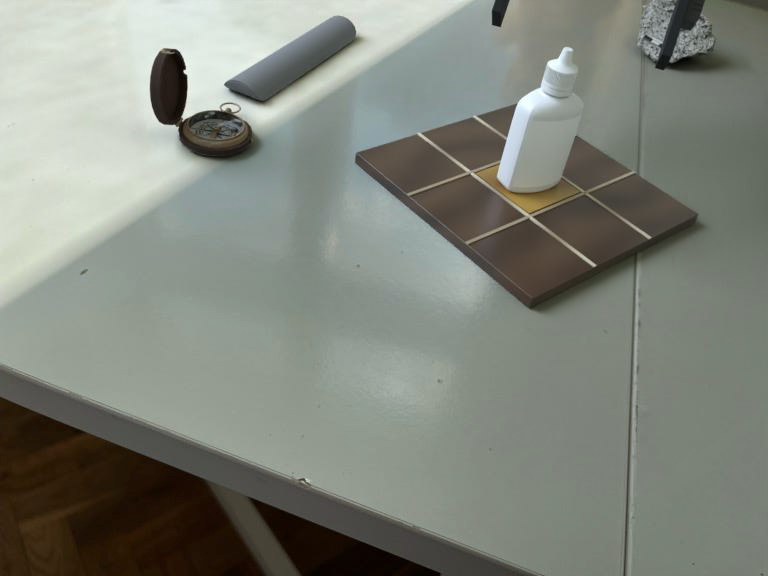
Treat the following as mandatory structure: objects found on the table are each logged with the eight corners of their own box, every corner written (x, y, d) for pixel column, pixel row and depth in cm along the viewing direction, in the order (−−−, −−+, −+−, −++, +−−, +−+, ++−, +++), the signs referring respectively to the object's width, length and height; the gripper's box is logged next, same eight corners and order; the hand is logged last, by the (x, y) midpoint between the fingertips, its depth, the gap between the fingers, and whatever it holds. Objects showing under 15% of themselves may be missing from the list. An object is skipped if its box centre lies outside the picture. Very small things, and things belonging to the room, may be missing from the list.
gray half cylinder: (358, 37, 86) (360, 22, 85) (258, 106, 72) (258, 88, 71) (325, 26, 87) (326, 10, 86) (220, 91, 73) (219, 73, 72)
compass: (242, 165, 65) (243, 85, 60) (148, 146, 65) (142, 65, 60) (267, 118, 71) (270, 42, 66) (182, 101, 71) (179, 24, 66)
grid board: (694, 223, 67) (699, 213, 67) (529, 308, 56) (533, 297, 55) (521, 110, 78) (524, 100, 78) (354, 162, 67) (355, 151, 67)
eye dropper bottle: (563, 201, 65) (609, 67, 57) (496, 191, 65) (534, 56, 57) (557, 172, 68) (600, 42, 60) (493, 163, 68) (529, 31, 60)
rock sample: (621, 21, 89) (679, -34, 89) (606, 41, 97) (659, -10, 96) (685, 86, 89) (743, 32, 88) (665, 101, 97) (718, 51, 96)
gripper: (511, -269, 62) (426, -21, 61) (836, -205, 58) (751, 63, 57) (509, -201, 69) (433, 21, 68) (797, -140, 65) (722, 98, 64)
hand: (577, 41), depth 63 cm, fingers open, 13 cm apart
